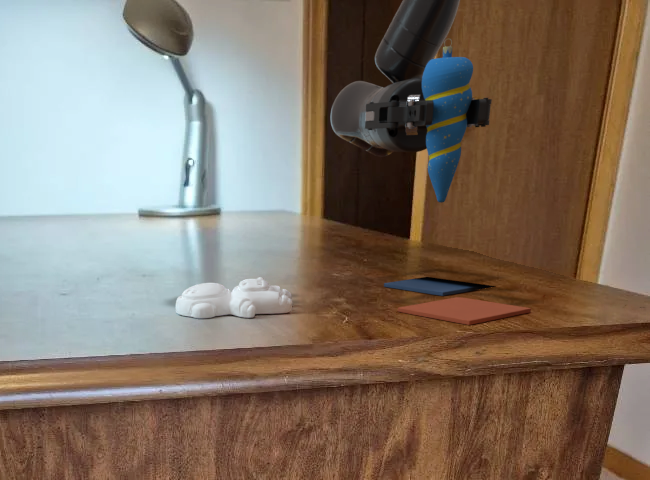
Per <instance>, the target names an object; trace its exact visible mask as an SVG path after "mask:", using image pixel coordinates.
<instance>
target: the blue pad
mask: <svg viewBox="0 0 650 480" xmlns="http://www.w3.org/2000/svg"><path fill="white" fill-rule="evenodd" d="M383 287H384V288H390V289H397V290H401V291H402V290H403V291H409V292H415V293H421V294H428V295H433V296H440V297H444V296H450V295H451V296H452V295H457V294H462V293H468V292H474V291H479V289H480V290H485V288H486V289H491V287H492V288H496V287H497V286H496V285H491V284H483V283H476V282H469V281H462V280H454V279H448V278H447V279H446V278H441V277H433V276H424V277H418V278H410V279H404V280H403V279H402V280H396V281H390V282H389V281H388V282H384V283H383Z"/></svg>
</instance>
